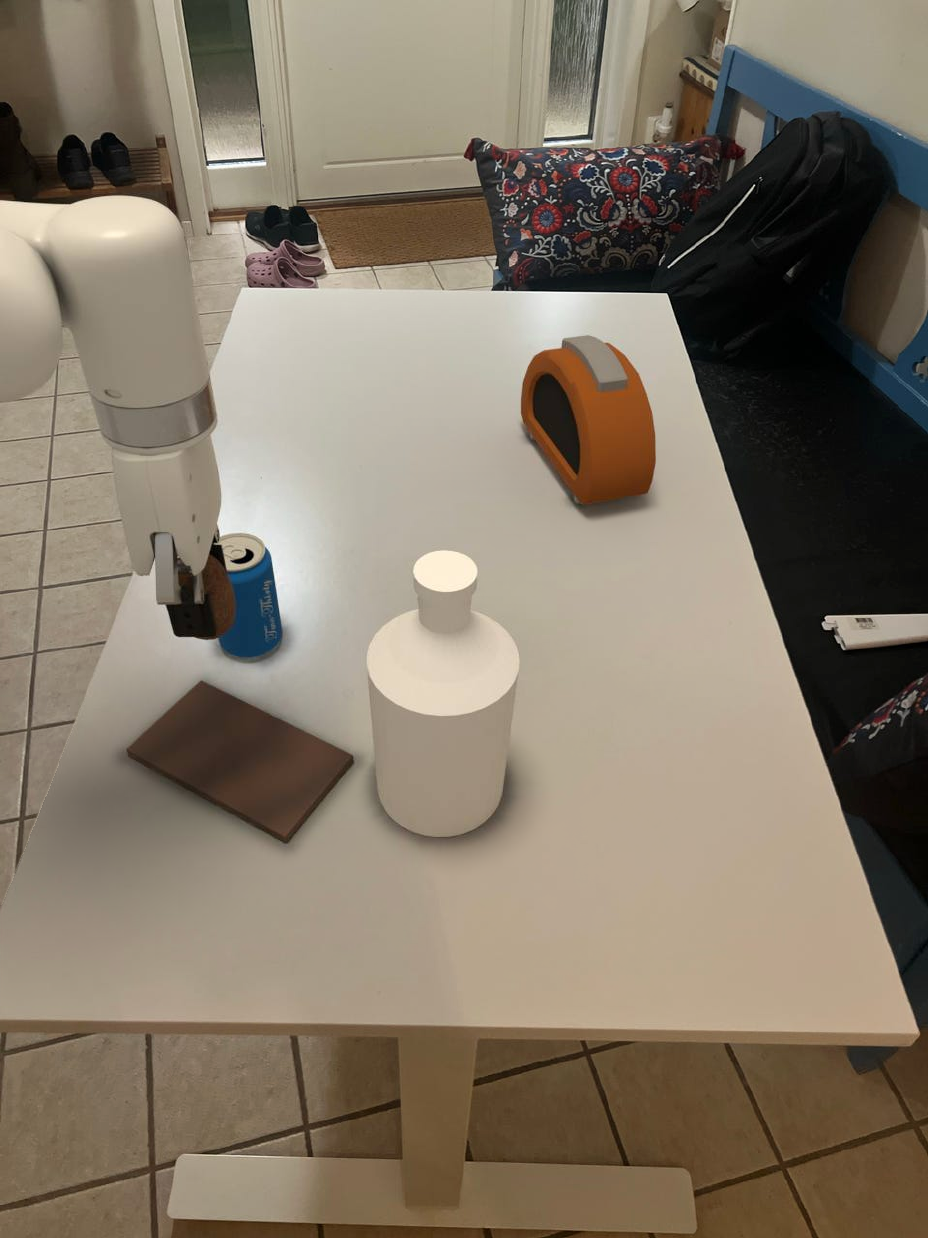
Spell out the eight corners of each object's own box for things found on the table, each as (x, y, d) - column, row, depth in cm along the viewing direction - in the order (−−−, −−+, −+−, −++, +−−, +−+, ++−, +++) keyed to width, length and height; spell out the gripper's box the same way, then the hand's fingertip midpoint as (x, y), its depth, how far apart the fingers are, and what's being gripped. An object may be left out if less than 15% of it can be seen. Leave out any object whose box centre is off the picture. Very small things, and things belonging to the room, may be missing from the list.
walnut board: (128, 756, 81) (125, 749, 80) (202, 686, 87) (201, 679, 87) (286, 843, 75) (285, 837, 74) (354, 761, 81) (353, 755, 81)
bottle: (427, 712, 86) (428, 501, 69) (530, 771, 81) (560, 560, 64) (346, 794, 79) (326, 581, 62) (455, 864, 74) (466, 654, 57)
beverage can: (254, 672, 89) (237, 581, 81) (206, 647, 91) (185, 556, 83) (296, 634, 93) (283, 545, 85) (249, 611, 95) (232, 522, 87)
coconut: (253, 635, 72) (239, 559, 67) (197, 664, 70) (178, 588, 64) (219, 602, 75) (203, 527, 70) (164, 629, 72) (143, 553, 67)
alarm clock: (516, 425, 125) (525, 310, 114) (574, 416, 127) (589, 303, 116) (583, 522, 109) (602, 400, 98) (649, 510, 111) (674, 389, 100)
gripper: (127, 344, 64) (175, 542, 77) (59, 479, 52) (130, 689, 64) (232, 345, 65) (263, 542, 77) (189, 479, 52) (235, 688, 65)
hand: (202, 607), depth 70 cm, fingers closed on coconut, 5 cm apart
